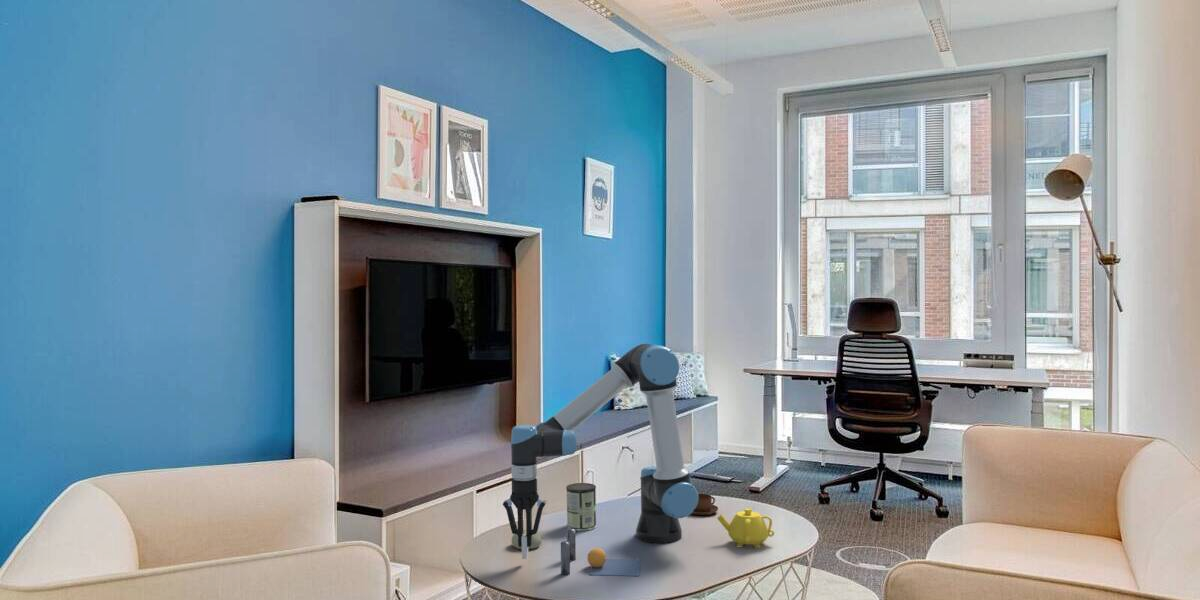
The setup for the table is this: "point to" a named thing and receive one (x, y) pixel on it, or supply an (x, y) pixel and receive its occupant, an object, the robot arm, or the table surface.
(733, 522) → the teapot
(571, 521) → the coffee can
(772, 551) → the table surface
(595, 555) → the ball
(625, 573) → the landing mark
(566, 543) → the post
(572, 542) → the post
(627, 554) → the table surface
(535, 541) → the sea urchin shell
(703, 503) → the cup and saucer
